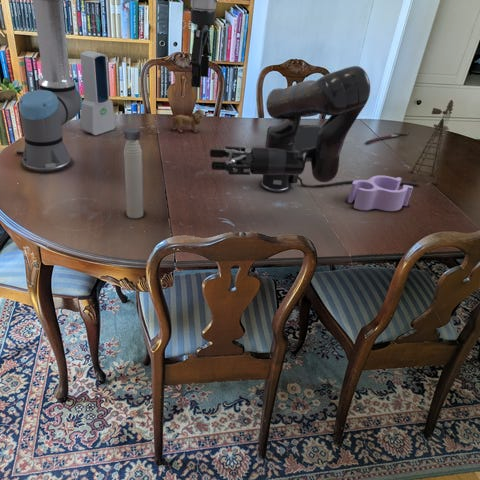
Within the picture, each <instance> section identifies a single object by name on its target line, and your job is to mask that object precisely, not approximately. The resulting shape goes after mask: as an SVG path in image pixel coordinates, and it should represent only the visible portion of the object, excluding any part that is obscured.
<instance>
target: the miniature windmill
mask: <svg viewBox="0 0 480 480" xmlns="http://www.w3.org/2000/svg"><path fill="white" fill-rule="evenodd" d="M453 107H454V101H453V100H452V99H450V100H449V102H448V103H447V106H446V109H445V110H441V108H437V107H432V111H431V115H440V114H442V115H443V116H442V118H441V119H440V121H439V123H438V124H433V127H434V130H433V131H432V134H431V136H430V138H429V140H428V141H427V142H426V145H425V147H423V150H422V151H421V152H420V155H419V157H417V160H416V161H415V163H414V166H413V168H412V169H411V171H410V172H411V173H414V170H415V171H416V173H415V175H414V176H413V179H412V180H413V181H416V179H417V177H418V175H419V173H423V174H429V175H430V176H432V177H433V176H434V181H433V184H434V185H435V184H436V183H437V178H438V176H439V173H438V170H439V162H440V154H441V150H442V138H443V132H444V131H449V130H450V128H449V127H448V126H447V124H448V123H449V120H450V118H451V115H452V113H453V110H454V108H453ZM436 137H438V138H437V139H438V140H437V142H434V141H435V139H436ZM433 144H434V145H436V146H433ZM431 148H433V149H435V153H432V152H430V149H431ZM427 155H432V156H434V158H432V157H427ZM421 159H422V160H421ZM420 160H421V161H420ZM425 160H430V161H433V163H432V165H428V164H424V162H425ZM435 165H436V166H435ZM418 166H419V167H418ZM422 167H429V168H432V169H431V172H429V171H422V170H421V169H422Z"/></svg>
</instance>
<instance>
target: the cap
mask: <svg viewBox="0 0 480 480" xmlns="http://www.w3.org/2000/svg"><path fill="white" fill-rule="evenodd" d="M124 138H125V140H126V141H127V140H138V141H139V140H140V139H141V131H140V128H137V127H133V126H131V127H126V128H124Z"/></svg>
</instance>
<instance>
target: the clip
mask: <svg viewBox="0 0 480 480" xmlns="http://www.w3.org/2000/svg"><path fill="white" fill-rule="evenodd" d="M402 179H403V178H402V177H399V176H398V177H393V176H389V175H374V176H371V177H370V178H369V179H355V180H352V181H353V183H351V187H350V191H349V195H348V199H347V203H348V204H349V203H350V204H352V203H353V202H354V204H353V208H354V209H356V210H360V211H370V210H373V209H374V210H375V209H376V210H380V211H383V212H396V211H399V210H401V209H402V207H403V206H404V207H408V204H409V202H410V198H411V195H412V192H413V189H414V185H403V184H402V188H401V189H399V188H400V185H401V184H400V182H402Z"/></svg>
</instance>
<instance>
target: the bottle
mask: <svg viewBox="0 0 480 480" xmlns="http://www.w3.org/2000/svg"><path fill="white" fill-rule="evenodd" d="M123 165H124V166H123V167H124V187H125V188H124V189H125V210H126V212H125V213H126V216H127V217H128V218H129V219H140V218H143V216H144V178H143V177H144V175H143V173H144V172H143V149H142V146H141V145H140V141H139V139H138V140H127V139H126V141H125V145H124V148H123Z"/></svg>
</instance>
